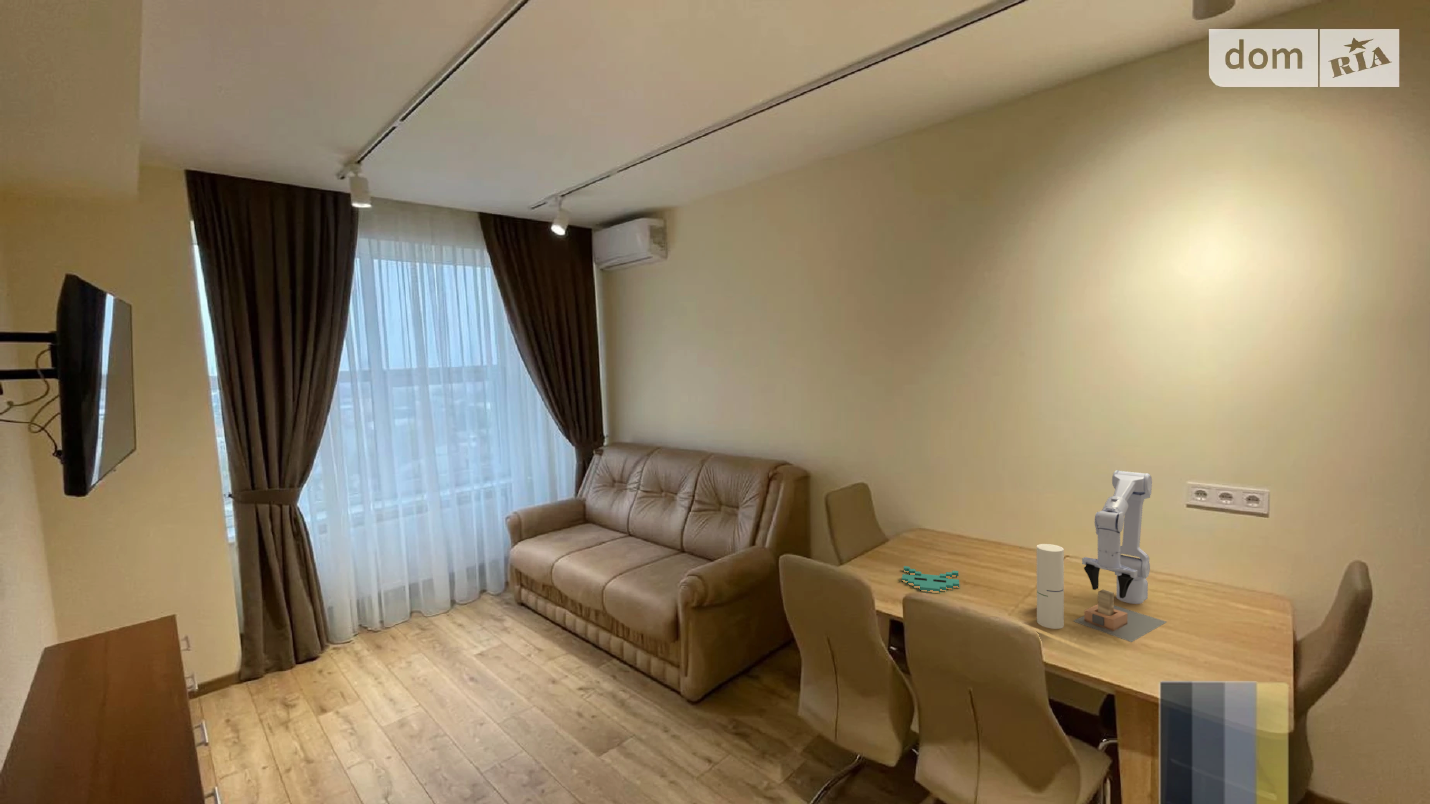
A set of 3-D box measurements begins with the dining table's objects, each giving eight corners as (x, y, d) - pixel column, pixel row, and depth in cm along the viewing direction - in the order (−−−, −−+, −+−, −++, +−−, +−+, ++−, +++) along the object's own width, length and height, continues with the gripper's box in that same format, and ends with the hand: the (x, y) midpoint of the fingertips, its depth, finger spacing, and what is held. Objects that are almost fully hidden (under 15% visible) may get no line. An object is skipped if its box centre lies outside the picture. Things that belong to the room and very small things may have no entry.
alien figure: (904, 571, 224) (900, 590, 205) (903, 566, 224) (900, 585, 205) (958, 576, 216) (959, 597, 198) (958, 571, 216) (959, 591, 198)
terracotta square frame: (1099, 613, 178) (1099, 603, 178) (1128, 623, 171) (1128, 612, 171) (1083, 621, 173) (1083, 610, 173) (1112, 631, 166) (1112, 620, 166)
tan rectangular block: (1102, 617, 174) (1102, 589, 174) (1113, 621, 172) (1113, 592, 171) (1097, 619, 173) (1097, 591, 172) (1108, 623, 170) (1108, 594, 169)
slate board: (1109, 606, 185) (1109, 603, 185) (1167, 625, 171) (1167, 621, 171) (1072, 624, 174) (1072, 621, 174) (1131, 645, 160) (1131, 642, 160)
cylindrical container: (1063, 633, 168) (1063, 552, 167) (1036, 628, 172) (1036, 549, 170) (1063, 624, 174) (1063, 545, 173) (1037, 619, 178) (1037, 542, 176)
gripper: (1076, 546, 176) (1076, 588, 177) (1129, 559, 164) (1128, 604, 165) (1088, 542, 180) (1088, 583, 181) (1140, 554, 167) (1140, 598, 168)
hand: (1108, 593), depth 173 cm, fingers open, 7 cm apart
